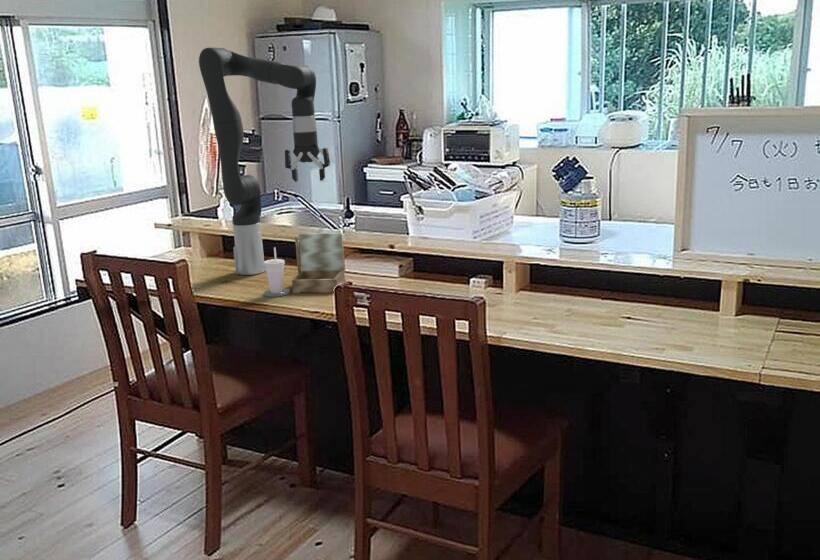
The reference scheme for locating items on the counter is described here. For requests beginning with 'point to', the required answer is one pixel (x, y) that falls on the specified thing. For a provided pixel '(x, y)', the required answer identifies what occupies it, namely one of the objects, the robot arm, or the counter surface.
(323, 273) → the cold frame
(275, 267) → the smoothie
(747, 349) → the counter surface
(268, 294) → the coaster
